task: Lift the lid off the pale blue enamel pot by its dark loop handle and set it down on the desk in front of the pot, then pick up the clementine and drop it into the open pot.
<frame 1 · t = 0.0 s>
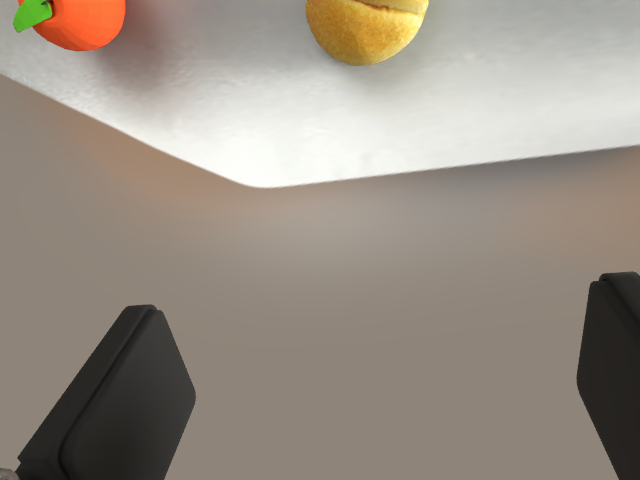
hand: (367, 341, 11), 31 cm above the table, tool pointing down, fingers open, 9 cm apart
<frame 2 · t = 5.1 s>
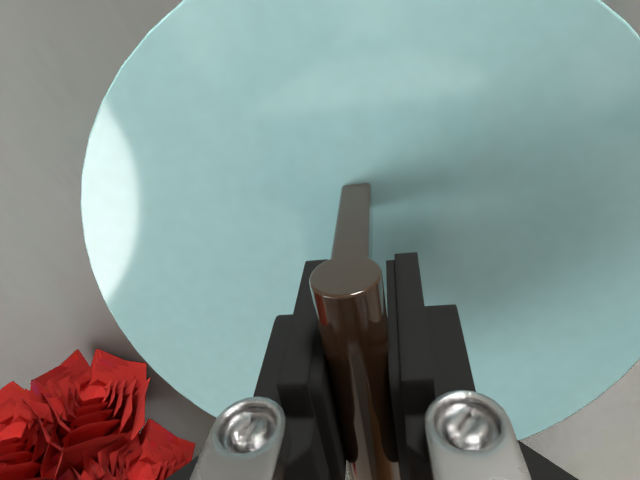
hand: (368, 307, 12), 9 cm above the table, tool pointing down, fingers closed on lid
lid: (369, 268, 13), point 7 cm above the table, touching gripper, pot
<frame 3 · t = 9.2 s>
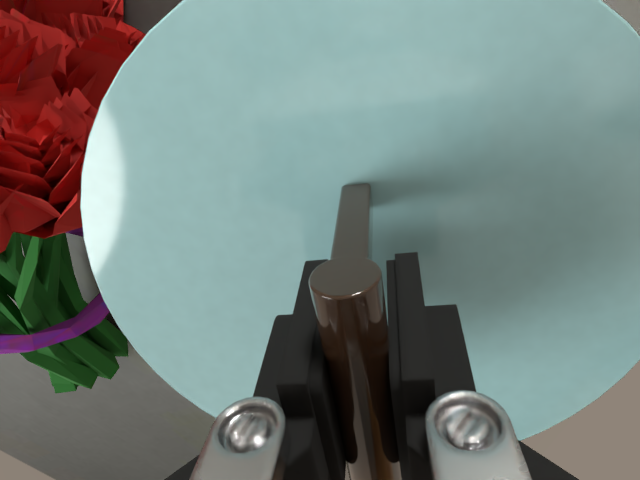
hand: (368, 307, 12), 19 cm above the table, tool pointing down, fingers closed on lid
bouquet: (97, 200, 34), on the table
lid: (369, 268, 13), point 18 cm above the table, touching gripper
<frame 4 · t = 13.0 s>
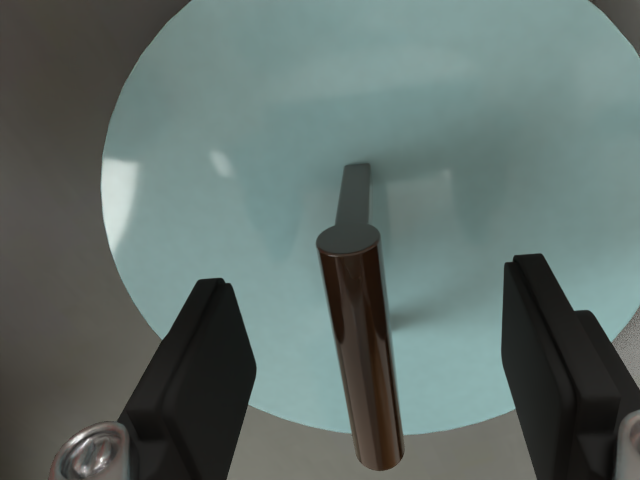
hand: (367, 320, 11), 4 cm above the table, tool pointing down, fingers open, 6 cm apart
lid: (369, 245, 14), point 1 cm above the table
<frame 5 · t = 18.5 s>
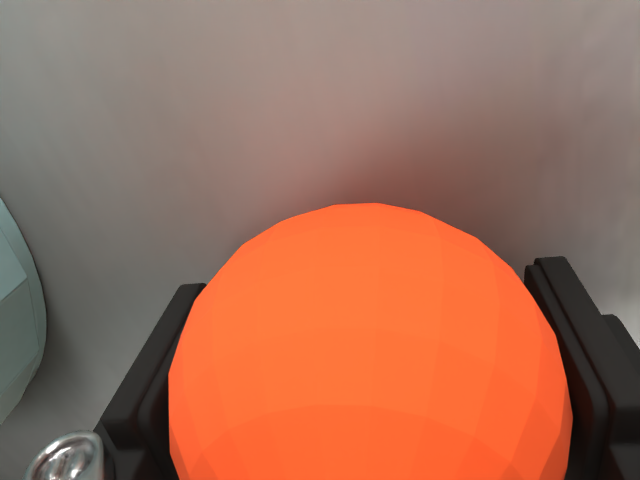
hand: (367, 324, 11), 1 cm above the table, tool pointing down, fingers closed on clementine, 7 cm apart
clementine: (375, 291, 12), on the table, touching gripper
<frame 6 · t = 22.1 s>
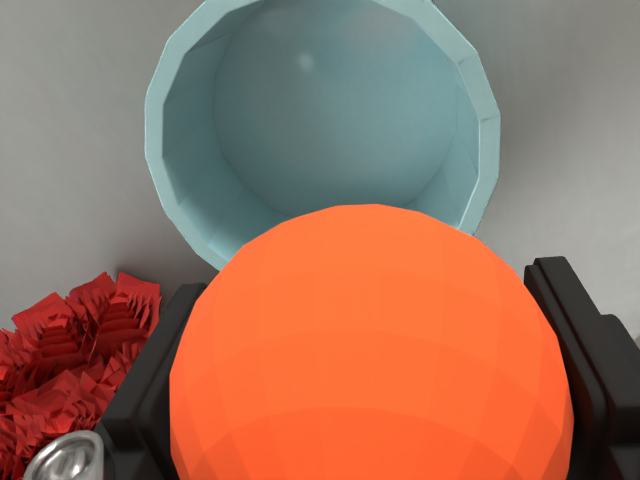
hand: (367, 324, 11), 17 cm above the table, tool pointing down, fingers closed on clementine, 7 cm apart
bouquet: (130, 408, 41), on the table
clementine: (376, 292, 12), point 16 cm above the table, touching gripper
pot: (332, 116, 26), on the table
when the fingers open (6 cm above the table, at t = 25.9 s): clementine drops 4 cm, resting on pot.
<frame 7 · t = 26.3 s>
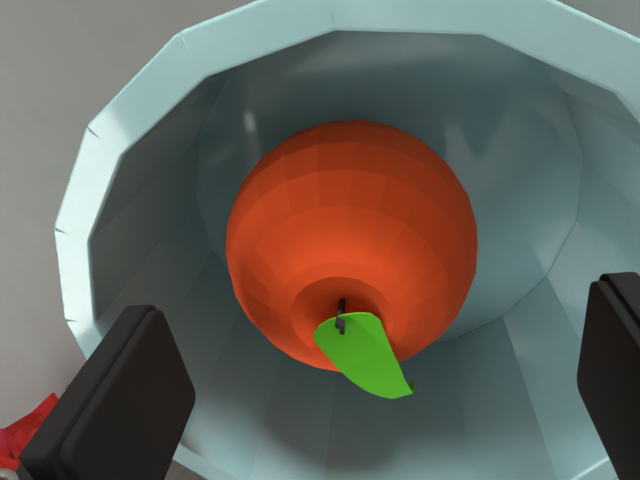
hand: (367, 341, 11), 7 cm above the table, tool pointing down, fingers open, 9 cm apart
clementine: (362, 203, 17), resting on pot
pot: (378, 202, 17), on the table
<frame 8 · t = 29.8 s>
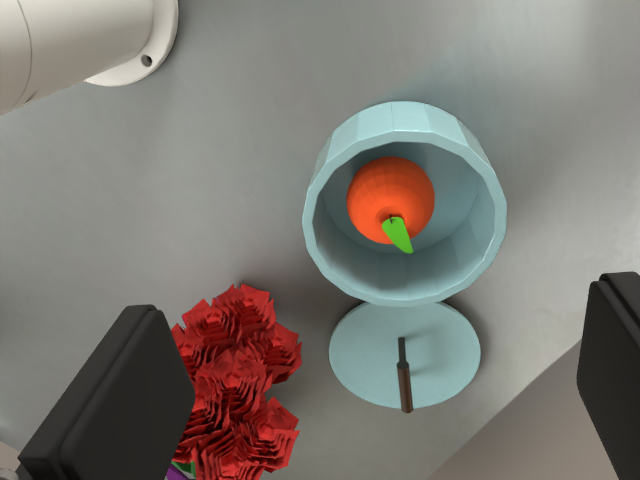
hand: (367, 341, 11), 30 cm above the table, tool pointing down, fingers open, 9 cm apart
bouquet: (233, 382, 56), on the table
clementine: (391, 186, 41), resting on pot
lid: (402, 353, 50), point 1 cm above the table
pot: (398, 186, 41), on the table
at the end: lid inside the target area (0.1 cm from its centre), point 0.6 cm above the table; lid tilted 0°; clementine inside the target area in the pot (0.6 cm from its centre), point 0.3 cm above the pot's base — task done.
